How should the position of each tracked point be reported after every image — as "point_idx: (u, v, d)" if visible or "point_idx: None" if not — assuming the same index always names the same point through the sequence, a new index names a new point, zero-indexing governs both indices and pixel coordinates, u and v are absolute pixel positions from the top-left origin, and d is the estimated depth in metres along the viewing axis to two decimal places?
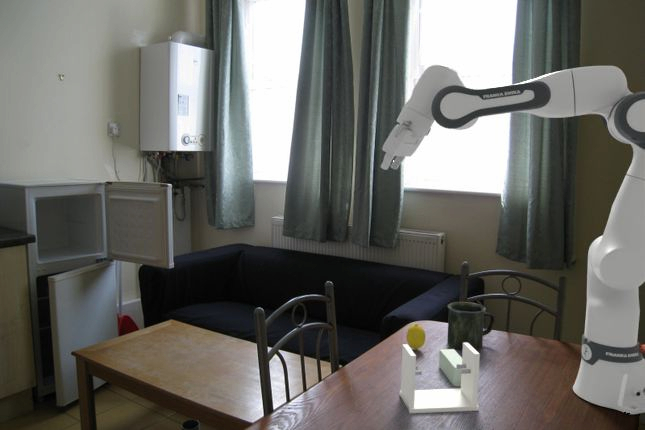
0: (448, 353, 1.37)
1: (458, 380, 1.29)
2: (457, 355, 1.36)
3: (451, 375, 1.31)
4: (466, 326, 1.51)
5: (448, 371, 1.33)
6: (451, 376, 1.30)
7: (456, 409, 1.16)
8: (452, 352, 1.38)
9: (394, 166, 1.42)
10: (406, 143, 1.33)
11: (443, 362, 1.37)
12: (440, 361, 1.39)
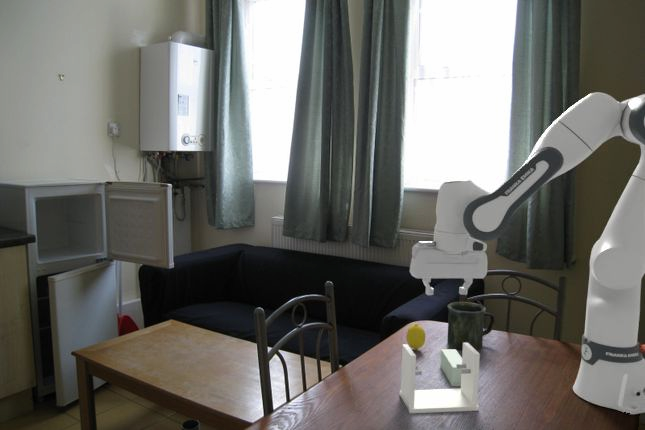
0: (449, 353, 1.37)
1: (456, 380, 1.29)
2: (457, 355, 1.36)
3: (449, 375, 1.31)
4: (466, 326, 1.51)
5: (447, 371, 1.33)
6: (450, 376, 1.31)
7: (456, 409, 1.16)
8: (454, 352, 1.38)
9: (461, 291, 1.33)
10: (439, 263, 1.29)
11: (443, 362, 1.37)
12: (441, 361, 1.39)
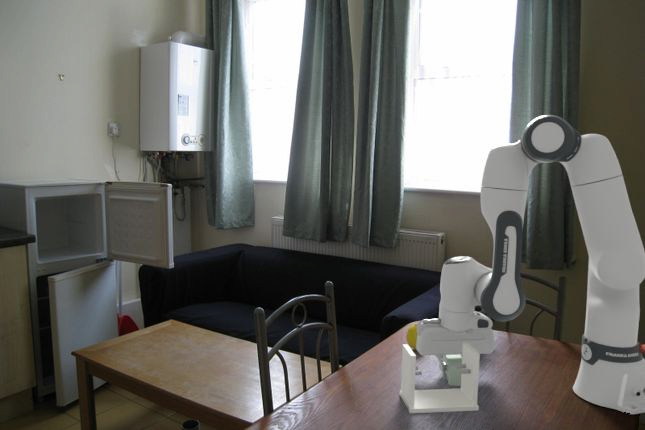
0: None
1: (453, 380, 1.29)
2: (458, 355, 1.36)
3: (448, 375, 1.31)
4: None
5: (446, 371, 1.33)
6: (448, 376, 1.31)
7: (456, 409, 1.16)
8: None
9: None
10: (444, 340, 1.31)
11: (445, 361, 1.37)
12: (443, 360, 1.40)
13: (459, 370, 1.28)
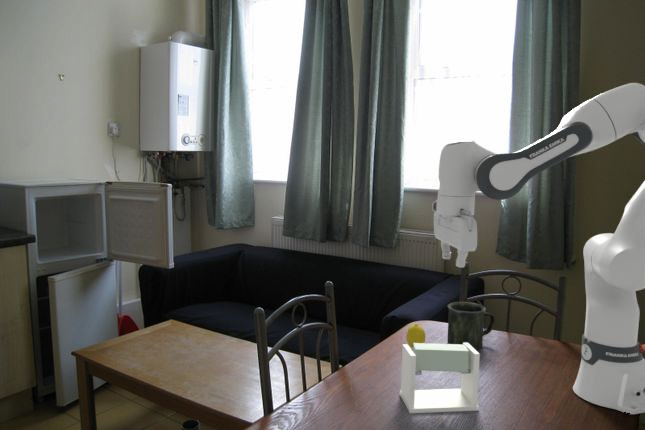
0: (427, 347, 1.18)
1: None
2: (432, 344, 1.20)
3: (458, 364, 1.17)
4: (466, 326, 1.51)
5: (447, 363, 1.17)
6: (459, 364, 1.17)
7: (456, 409, 1.16)
8: (423, 344, 1.19)
9: (448, 256, 1.31)
10: None
11: (429, 359, 1.17)
12: (419, 362, 1.17)
13: None
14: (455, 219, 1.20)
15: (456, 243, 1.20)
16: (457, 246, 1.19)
